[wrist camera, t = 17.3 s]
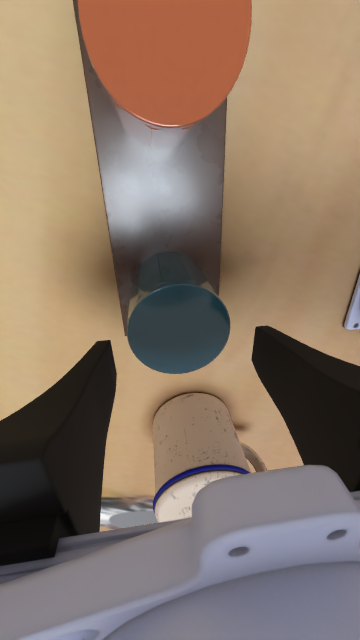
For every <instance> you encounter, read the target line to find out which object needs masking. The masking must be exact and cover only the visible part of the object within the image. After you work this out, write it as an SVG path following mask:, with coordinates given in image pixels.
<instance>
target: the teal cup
mask: <svg viewBox="0 0 360 640" xmlns="http://www.w3.org/2000/svg"><path fill="white" fill-rule="evenodd" d="M127 322H128V326H127V338H128V342H129V345H130V348H131V350H132V351H133V353H134V354H135V356H136V357H137V358H138V359H139V360H140V361H141V362H142V363H143V364H145V365H146V366H148V367H149V368H151V369H154V370H156V371H159V372H163V373H169V374H182V373H188V372H192V371H195V370H197V369H200V368H202V367H204V366H206V365H207V364H209V363H210V362H211V361H213V360H214V359H215V358H216V357H217V356H218V355H219V354H220V352H221V351H222V350H223V348H224V347H225V345H226V343H227V340H228V337H229V333H230V318H229V314H228V311H227V309H226V307H225V305H224V304H223V302H222V301H221V299H220V298H219V297H218V296H217V294H216V292H215V291H214V289H213V288H212V286H211V285H210V283H209V282H208V280H207V279H206V277H205V276H204V274H203V273H202V271H201V270H200V268H199V266H198V265H197V263H196V262H195V261H194V260H192V259H190V258H188V257H187V256H185V255H183V254H181V253H179V252H166V253H157V254H155V255H153V256H152V257H150V258H149V259H147V260H146V261H144V262H143V263H141V265H139V268H138V270H137V272H136V274H135V276H134V278H133V281H132V287H131V295H130V304H129V312H128V320H127Z"/></svg>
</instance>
